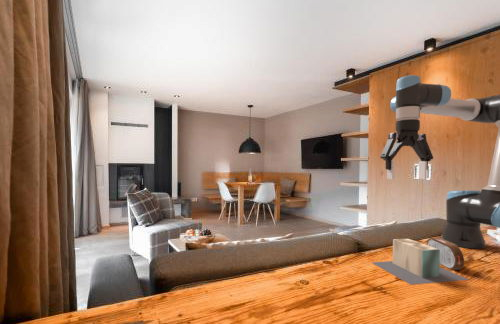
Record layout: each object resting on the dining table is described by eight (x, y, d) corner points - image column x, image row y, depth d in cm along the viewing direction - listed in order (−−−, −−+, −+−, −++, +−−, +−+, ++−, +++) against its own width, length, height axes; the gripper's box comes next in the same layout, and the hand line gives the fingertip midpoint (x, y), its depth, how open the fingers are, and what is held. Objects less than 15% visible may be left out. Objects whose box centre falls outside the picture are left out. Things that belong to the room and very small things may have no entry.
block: (408, 238, 93) (439, 249, 82) (407, 262, 93) (439, 276, 81) (393, 239, 92) (423, 250, 80) (392, 263, 92) (422, 277, 80)
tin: (465, 274, 85) (465, 247, 85) (454, 274, 85) (455, 247, 85) (433, 257, 100) (433, 234, 100) (424, 257, 100) (425, 234, 100)
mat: (421, 260, 96) (421, 259, 96) (469, 280, 80) (469, 279, 80) (371, 263, 92) (371, 262, 92) (410, 286, 75) (410, 284, 75)
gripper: (427, 123, 105) (426, 178, 105) (370, 120, 99) (369, 178, 99) (445, 120, 97) (444, 179, 97) (384, 116, 92) (384, 179, 92)
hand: (406, 179), depth 98 cm, fingers open, 13 cm apart
